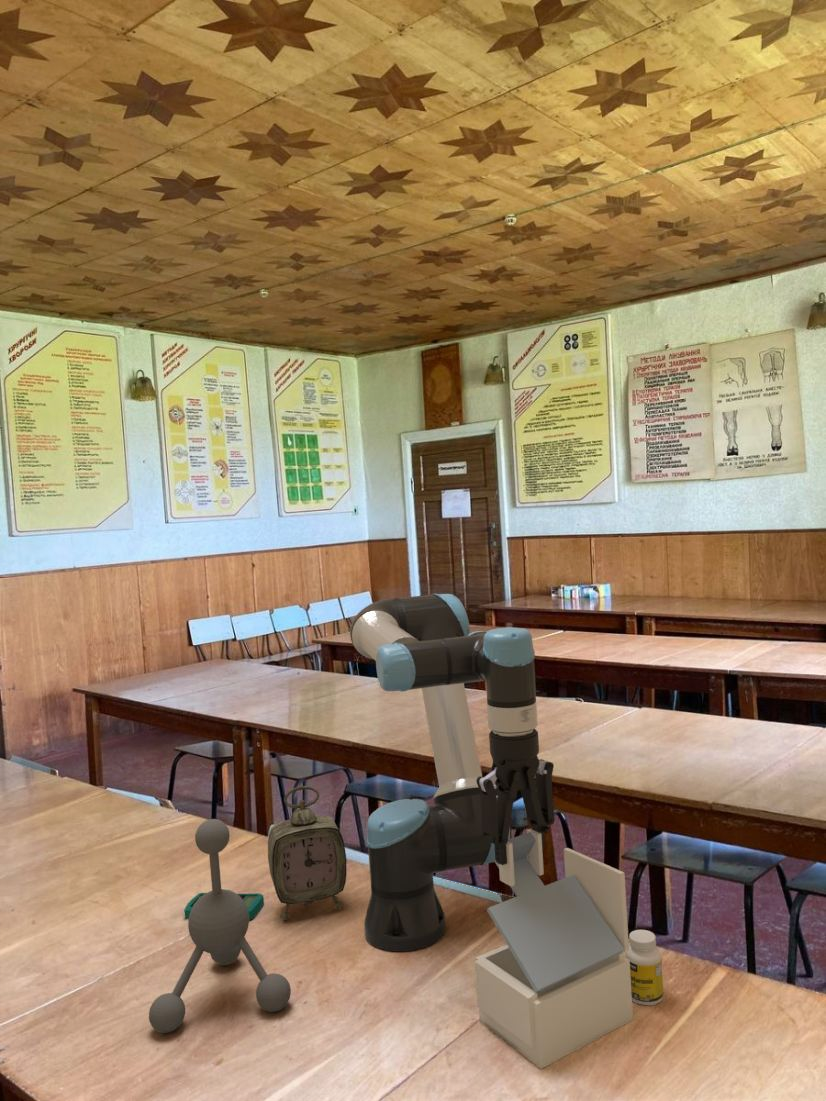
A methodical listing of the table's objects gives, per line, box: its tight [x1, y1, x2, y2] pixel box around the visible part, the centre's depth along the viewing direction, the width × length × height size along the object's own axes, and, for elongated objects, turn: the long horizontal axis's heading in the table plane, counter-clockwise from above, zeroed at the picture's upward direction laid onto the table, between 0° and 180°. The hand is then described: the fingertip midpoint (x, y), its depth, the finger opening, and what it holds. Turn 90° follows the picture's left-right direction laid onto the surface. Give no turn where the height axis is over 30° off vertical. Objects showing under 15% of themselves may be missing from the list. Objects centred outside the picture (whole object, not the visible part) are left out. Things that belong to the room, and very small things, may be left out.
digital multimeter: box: [183, 892, 265, 921], centre depth 173 cm, size 7×15×3 cm, turn 80°
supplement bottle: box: [625, 929, 664, 1006], centre depth 134 cm, size 5×5×10 cm
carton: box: [474, 847, 634, 1070], centre depth 129 cm, size 14×20×22 cm
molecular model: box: [148, 818, 292, 1034], centre depth 139 cm, size 24×22×30 cm
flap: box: [486, 832, 624, 993], centre depth 128 cm, size 20×17×5 cm
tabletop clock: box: [267, 785, 348, 921], centre depth 171 cm, size 14×9×25 cm, turn 106°
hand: (521, 877), depth 133 cm, fingers closed on flap, 5 cm apart
